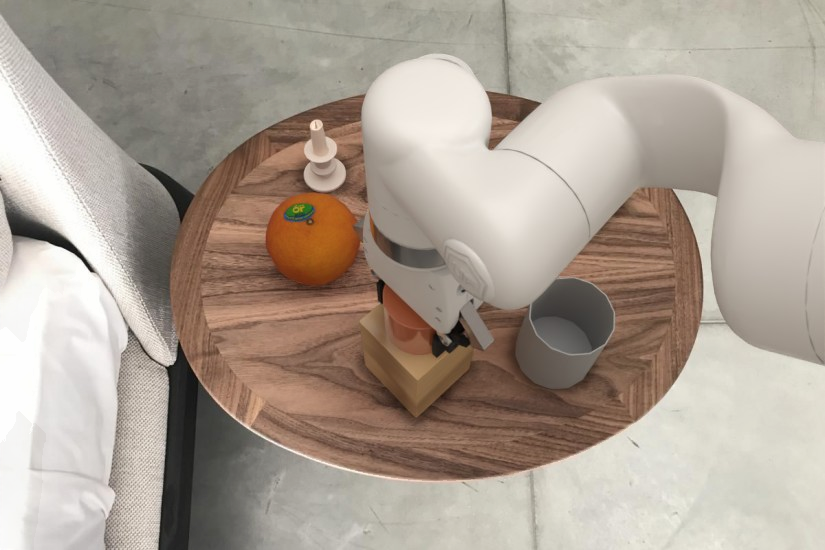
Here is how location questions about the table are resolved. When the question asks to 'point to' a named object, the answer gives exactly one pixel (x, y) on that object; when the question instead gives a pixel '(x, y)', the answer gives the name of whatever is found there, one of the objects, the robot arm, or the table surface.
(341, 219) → the fruit
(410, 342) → the orange cylinder puck
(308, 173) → the candle
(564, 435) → the table surface
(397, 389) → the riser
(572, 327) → the cup
